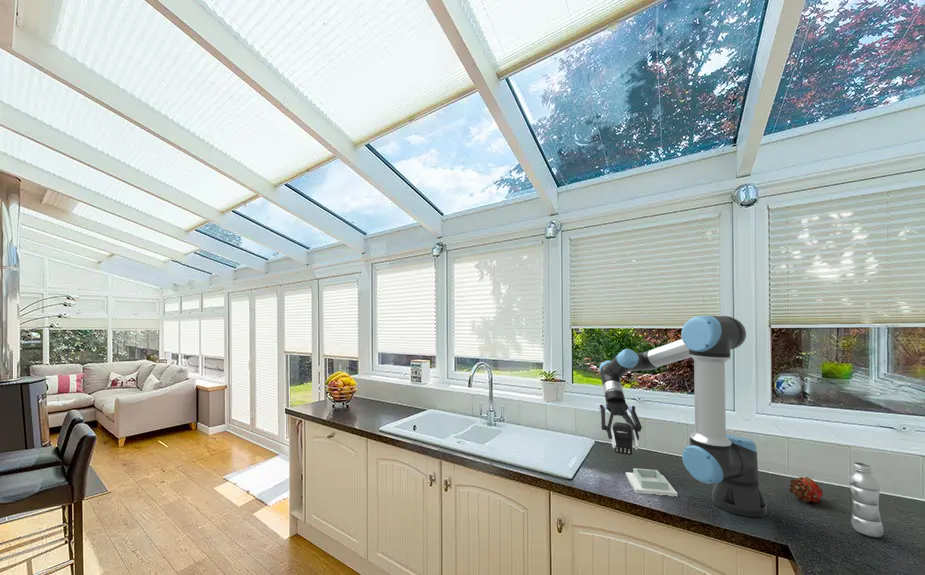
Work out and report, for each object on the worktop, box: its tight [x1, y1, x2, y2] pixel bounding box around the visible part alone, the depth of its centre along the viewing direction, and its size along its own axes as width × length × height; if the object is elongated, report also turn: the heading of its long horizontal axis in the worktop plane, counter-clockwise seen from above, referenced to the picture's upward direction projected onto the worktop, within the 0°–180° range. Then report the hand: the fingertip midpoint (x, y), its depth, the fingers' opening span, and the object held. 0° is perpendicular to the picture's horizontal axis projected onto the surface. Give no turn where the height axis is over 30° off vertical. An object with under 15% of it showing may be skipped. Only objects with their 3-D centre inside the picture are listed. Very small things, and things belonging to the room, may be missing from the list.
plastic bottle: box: [848, 461, 884, 538], centre depth 112 cm, size 6×7×20 cm
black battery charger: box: [612, 421, 634, 456], centre depth 143 cm, size 7×4×11 cm, turn 60°
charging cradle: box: [625, 467, 679, 498], centre depth 143 cm, size 14×16×4 cm
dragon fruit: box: [788, 476, 823, 504], centre depth 132 cm, size 8×8×12 cm
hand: (625, 447), depth 139 cm, fingers closed on black battery charger, 7 cm apart
